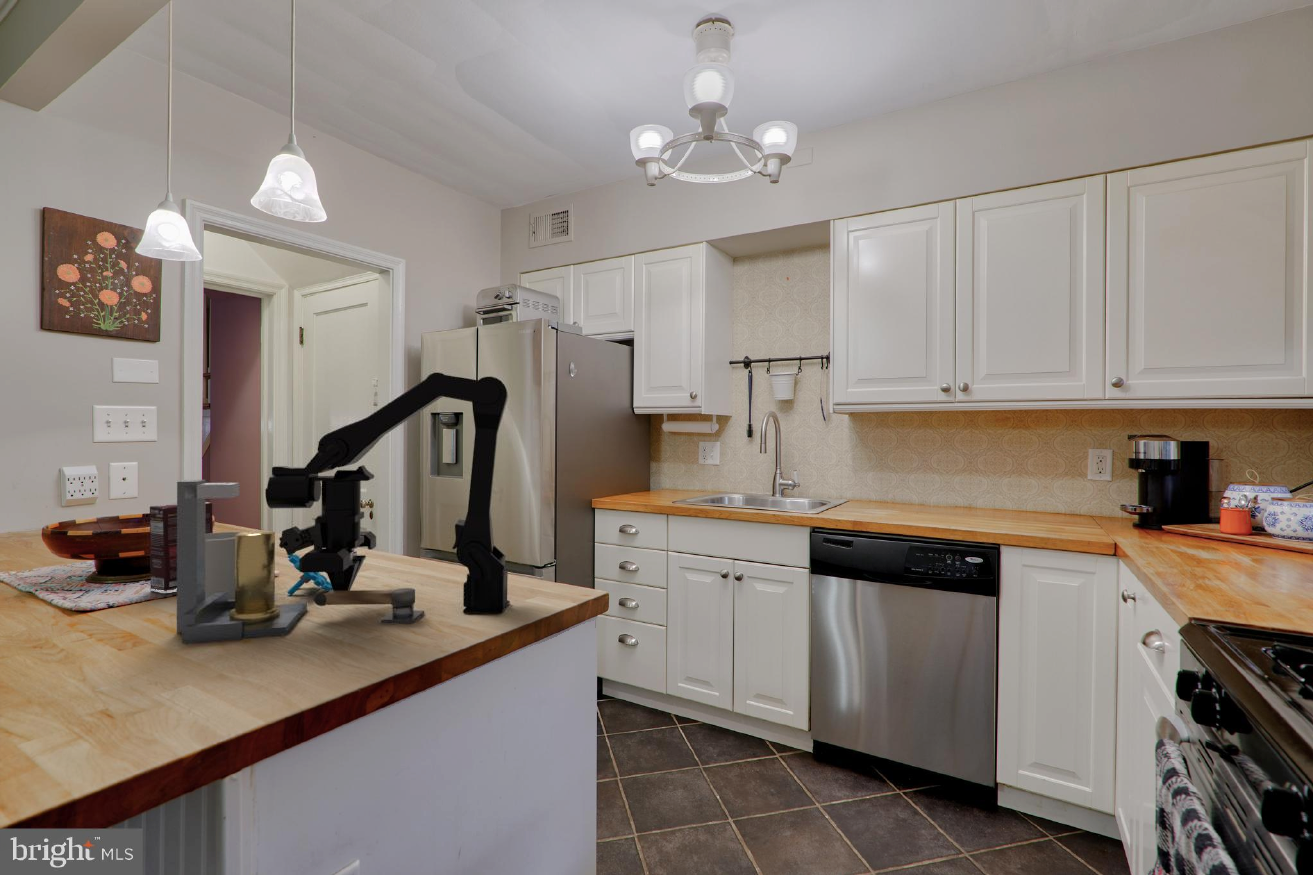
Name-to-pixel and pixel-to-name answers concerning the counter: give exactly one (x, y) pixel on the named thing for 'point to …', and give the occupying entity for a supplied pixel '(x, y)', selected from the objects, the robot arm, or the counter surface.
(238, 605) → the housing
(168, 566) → the supplement box
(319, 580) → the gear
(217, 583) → the mug
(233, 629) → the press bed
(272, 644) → the counter surface
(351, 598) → the lever
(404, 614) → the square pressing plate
